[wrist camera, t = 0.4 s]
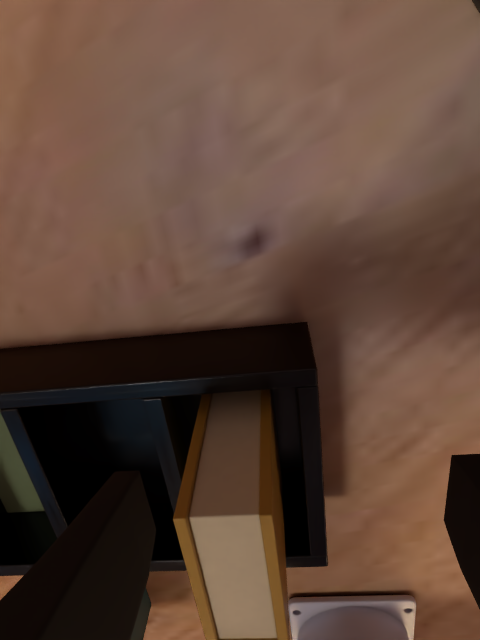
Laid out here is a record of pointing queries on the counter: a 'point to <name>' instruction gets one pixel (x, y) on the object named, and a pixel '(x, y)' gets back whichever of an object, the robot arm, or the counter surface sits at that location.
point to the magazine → (477, 4)
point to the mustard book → (235, 518)
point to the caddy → (148, 430)
